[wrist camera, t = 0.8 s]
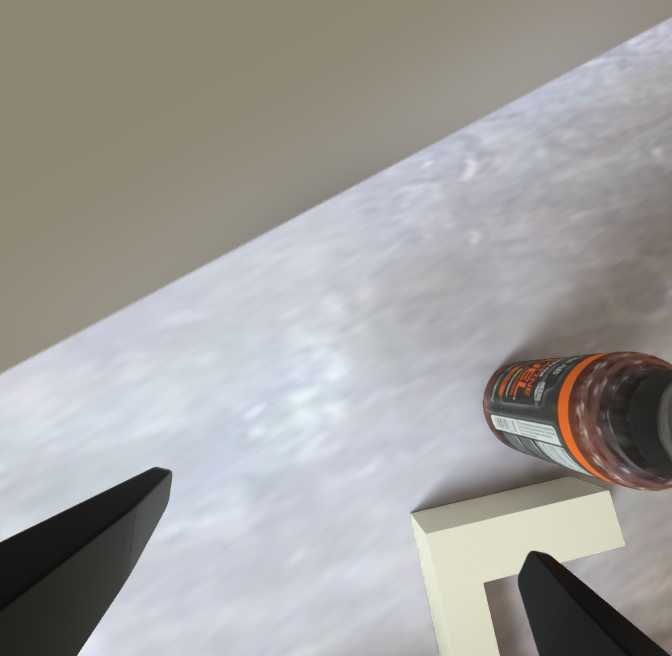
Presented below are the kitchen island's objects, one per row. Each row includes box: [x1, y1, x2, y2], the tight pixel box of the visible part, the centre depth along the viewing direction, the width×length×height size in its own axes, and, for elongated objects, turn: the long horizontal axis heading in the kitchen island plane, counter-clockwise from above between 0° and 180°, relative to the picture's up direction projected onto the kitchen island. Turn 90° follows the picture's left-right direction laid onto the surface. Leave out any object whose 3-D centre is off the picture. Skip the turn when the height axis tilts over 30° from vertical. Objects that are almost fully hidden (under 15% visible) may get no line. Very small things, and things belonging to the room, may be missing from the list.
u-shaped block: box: [410, 476, 625, 656], centre depth 19 cm, size 14×11×3 cm
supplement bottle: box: [483, 352, 672, 491], centre depth 17 cm, size 6×6×11 cm
